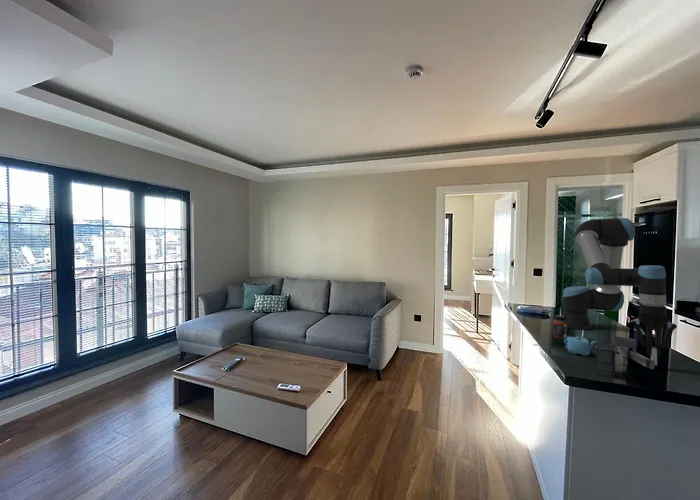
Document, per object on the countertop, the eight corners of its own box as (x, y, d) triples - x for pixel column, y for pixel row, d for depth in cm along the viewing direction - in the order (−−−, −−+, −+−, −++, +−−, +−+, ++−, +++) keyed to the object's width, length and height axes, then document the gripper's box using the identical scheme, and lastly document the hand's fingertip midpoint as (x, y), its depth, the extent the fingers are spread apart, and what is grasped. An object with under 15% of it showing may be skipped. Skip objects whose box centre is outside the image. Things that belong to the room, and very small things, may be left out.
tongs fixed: (619, 354, 132) (619, 346, 132) (627, 355, 130) (627, 348, 130) (622, 365, 120) (622, 357, 120) (632, 366, 118) (632, 358, 118)
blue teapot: (596, 353, 133) (596, 337, 132) (599, 358, 127) (599, 341, 127) (563, 349, 139) (563, 333, 138) (565, 353, 133) (565, 337, 133)
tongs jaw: (629, 358, 127) (629, 350, 127) (633, 358, 126) (633, 351, 126) (649, 368, 116) (649, 361, 116) (654, 369, 116) (654, 361, 115)
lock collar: (613, 351, 135) (613, 336, 135) (635, 354, 130) (635, 339, 130) (614, 353, 132) (614, 338, 132) (636, 356, 128) (636, 341, 128)
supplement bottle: (569, 339, 152) (569, 317, 152) (556, 339, 153) (556, 317, 153) (563, 336, 158) (563, 314, 158) (551, 335, 159) (551, 314, 159)
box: (595, 367, 118) (595, 341, 118) (614, 371, 115) (614, 344, 114) (595, 374, 112) (595, 346, 112) (615, 378, 109) (615, 350, 108)
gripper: (631, 304, 118) (633, 363, 118) (679, 307, 110) (680, 371, 110) (628, 301, 124) (630, 357, 124) (673, 304, 116) (675, 364, 116)
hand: (654, 364), depth 117 cm, fingers closed
